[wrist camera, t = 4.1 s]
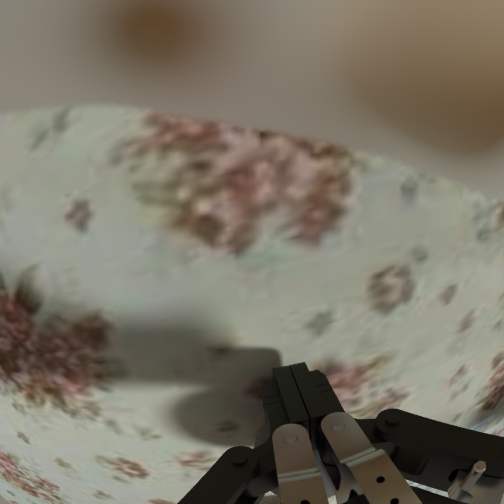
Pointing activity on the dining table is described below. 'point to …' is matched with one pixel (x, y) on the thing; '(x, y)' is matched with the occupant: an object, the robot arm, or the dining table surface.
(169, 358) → the dining table surface
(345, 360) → the dining table surface
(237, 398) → the dining table surface
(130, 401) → the dining table surface
